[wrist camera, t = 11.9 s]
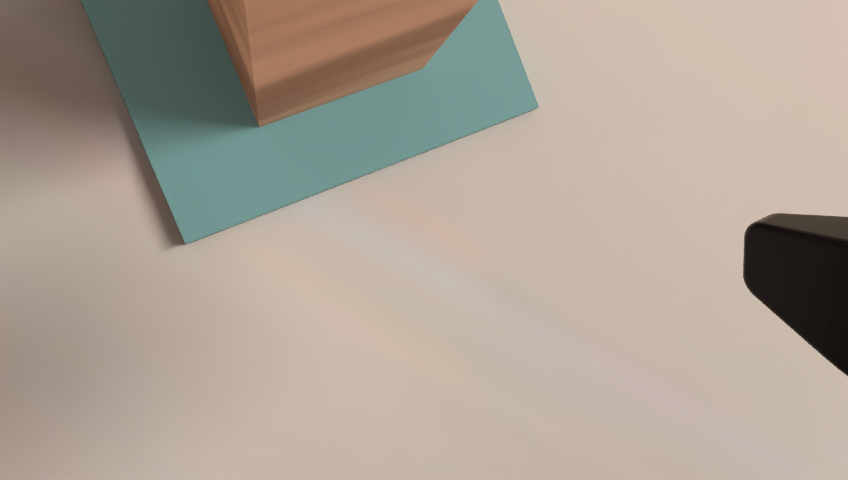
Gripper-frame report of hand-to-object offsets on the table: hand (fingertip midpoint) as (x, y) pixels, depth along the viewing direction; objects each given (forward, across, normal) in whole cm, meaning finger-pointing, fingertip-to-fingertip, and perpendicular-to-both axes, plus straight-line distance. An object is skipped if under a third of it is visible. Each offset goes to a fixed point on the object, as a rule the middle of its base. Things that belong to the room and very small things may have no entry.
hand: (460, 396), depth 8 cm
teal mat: (+14, -3, -2) cm, 15 cm away
